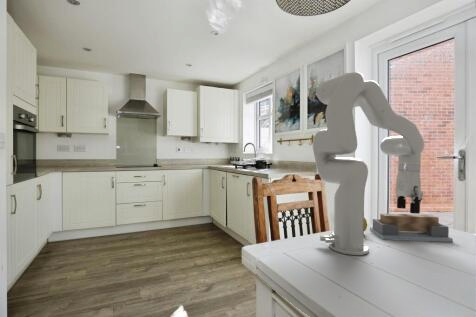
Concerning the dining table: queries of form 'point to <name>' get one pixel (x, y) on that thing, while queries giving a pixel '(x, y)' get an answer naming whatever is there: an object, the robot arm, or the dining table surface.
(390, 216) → the slat
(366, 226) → the lemon
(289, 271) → the dining table surface
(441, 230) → the grey stand
